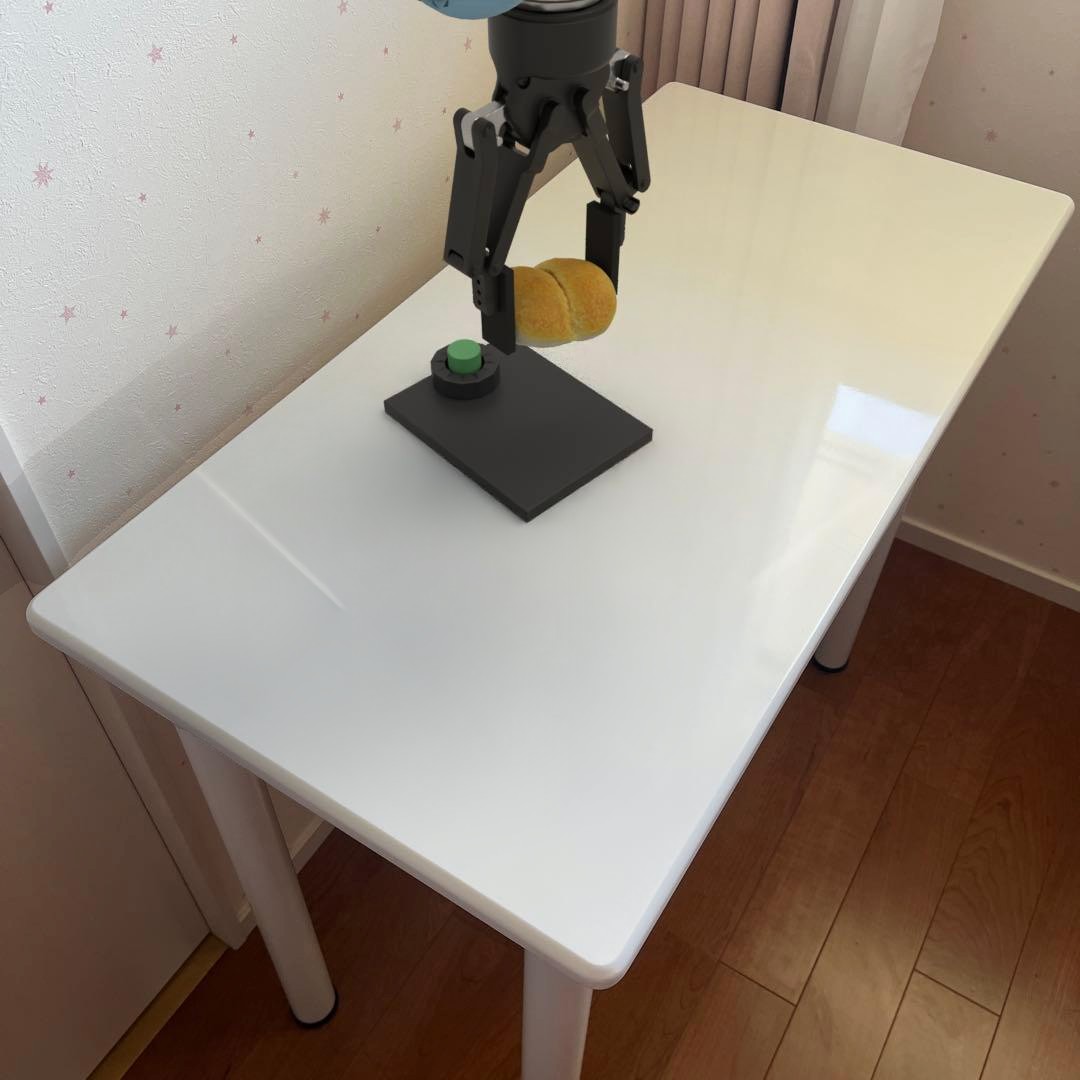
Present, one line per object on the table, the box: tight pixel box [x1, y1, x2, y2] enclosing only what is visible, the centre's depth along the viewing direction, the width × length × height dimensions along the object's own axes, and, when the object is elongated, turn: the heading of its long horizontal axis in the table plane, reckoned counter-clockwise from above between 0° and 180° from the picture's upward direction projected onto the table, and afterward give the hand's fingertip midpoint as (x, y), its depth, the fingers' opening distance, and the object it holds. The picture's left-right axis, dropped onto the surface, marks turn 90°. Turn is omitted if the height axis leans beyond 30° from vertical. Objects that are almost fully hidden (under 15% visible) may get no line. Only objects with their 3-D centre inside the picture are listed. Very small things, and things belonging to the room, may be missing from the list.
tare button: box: [447, 338, 481, 375], centre depth 93 cm, size 3×3×2 cm
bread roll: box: [509, 257, 618, 349], centre depth 78 cm, size 8×9×4 cm
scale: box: [383, 342, 654, 523], centre depth 91 cm, size 18×14×3 cm
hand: (551, 316), depth 79 cm, fingers closed on bread roll, 9 cm apart
